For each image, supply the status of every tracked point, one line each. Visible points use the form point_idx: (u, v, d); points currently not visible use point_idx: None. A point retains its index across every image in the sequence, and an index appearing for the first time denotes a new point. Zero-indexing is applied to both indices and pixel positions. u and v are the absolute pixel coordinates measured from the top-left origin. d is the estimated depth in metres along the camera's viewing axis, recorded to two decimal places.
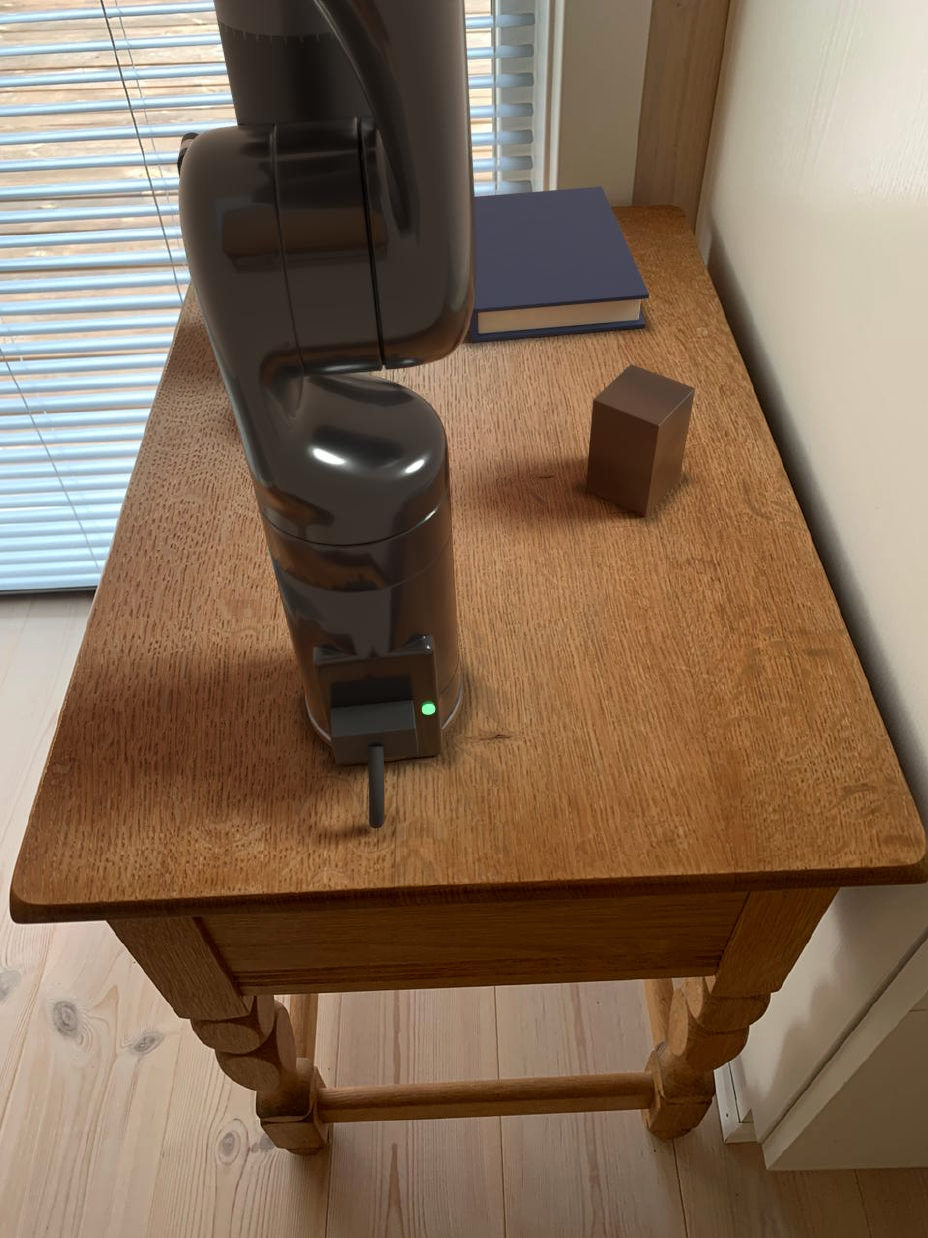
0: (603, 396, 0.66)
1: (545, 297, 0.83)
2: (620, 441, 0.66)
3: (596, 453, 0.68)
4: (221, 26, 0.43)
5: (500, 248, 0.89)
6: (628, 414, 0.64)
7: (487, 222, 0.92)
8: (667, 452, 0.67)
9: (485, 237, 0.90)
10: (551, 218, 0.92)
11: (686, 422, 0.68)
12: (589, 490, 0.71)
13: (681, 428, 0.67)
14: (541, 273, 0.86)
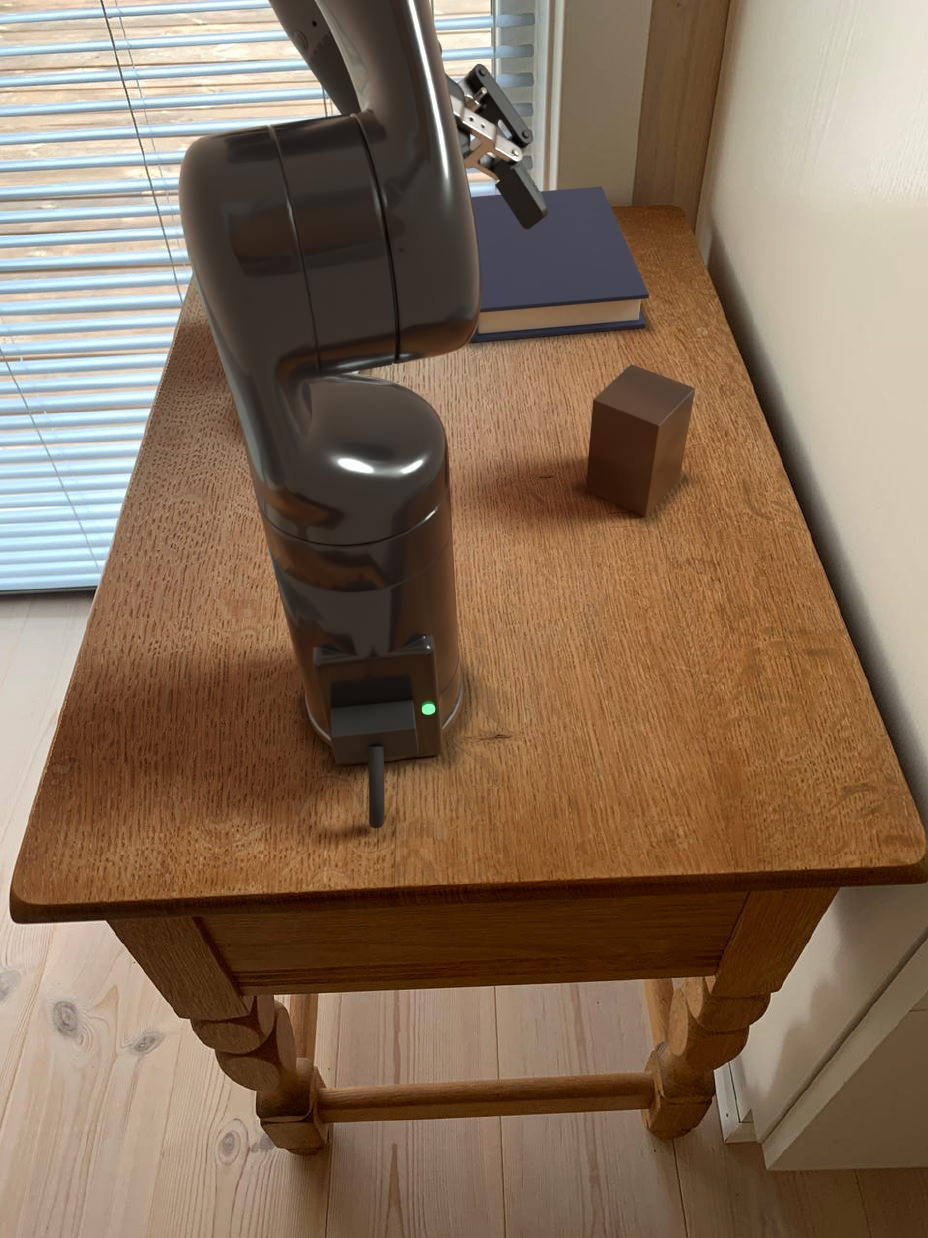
0: (603, 396, 0.66)
1: (545, 297, 0.83)
2: (620, 441, 0.66)
3: (596, 453, 0.68)
4: (330, 33, 0.59)
5: (500, 248, 0.89)
6: (628, 414, 0.64)
7: (487, 222, 0.92)
8: (667, 452, 0.67)
9: (485, 237, 0.90)
10: (551, 218, 0.92)
11: (686, 422, 0.68)
12: (589, 490, 0.71)
13: (681, 428, 0.67)
14: (541, 273, 0.86)
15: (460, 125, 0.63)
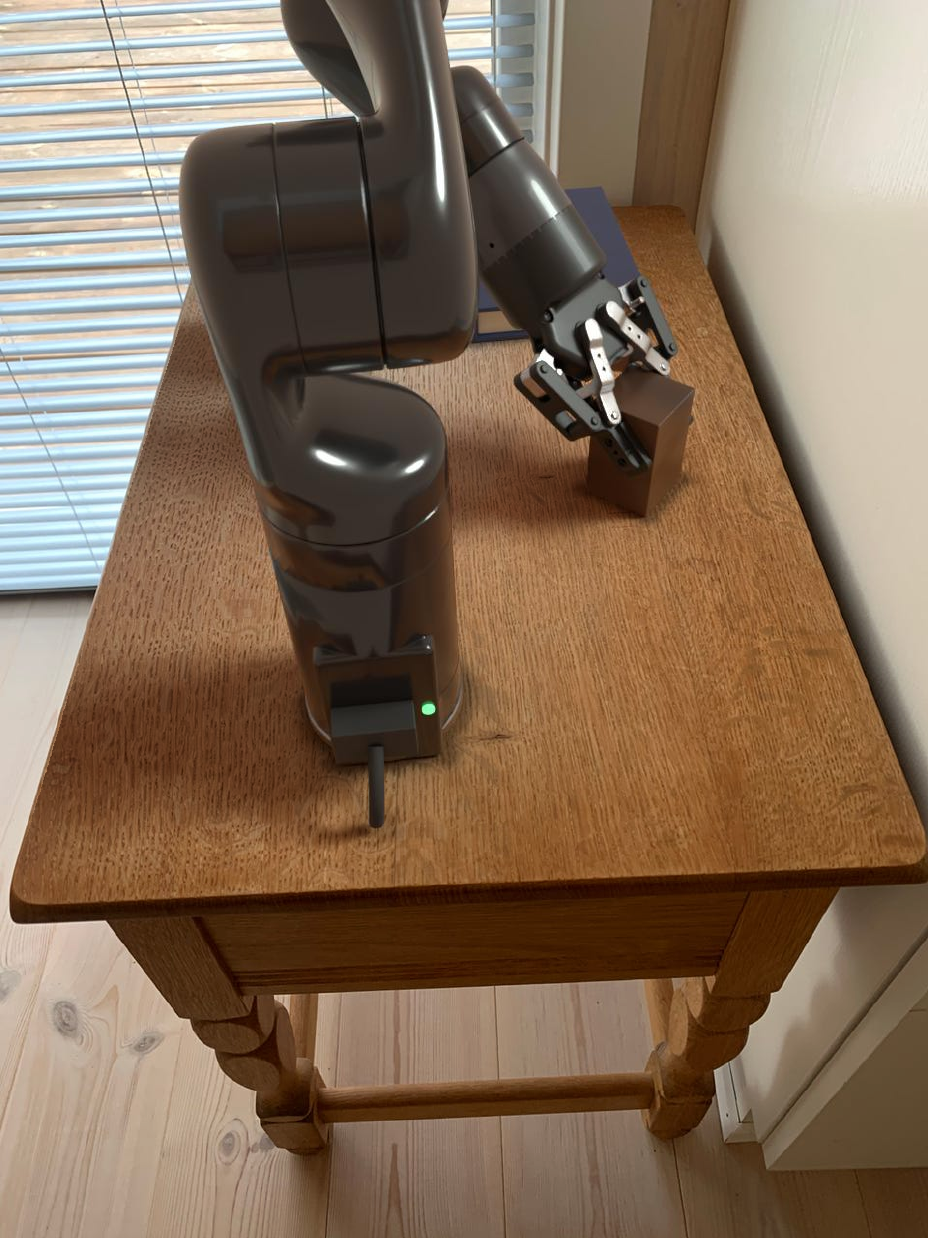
0: None
1: None
2: None
3: (596, 453, 0.68)
4: (507, 255, 0.61)
5: None
6: (628, 414, 0.64)
7: None
8: (667, 452, 0.67)
9: None
10: None
11: (686, 422, 0.68)
12: (589, 490, 0.71)
13: (681, 428, 0.67)
14: None
15: (618, 331, 0.65)
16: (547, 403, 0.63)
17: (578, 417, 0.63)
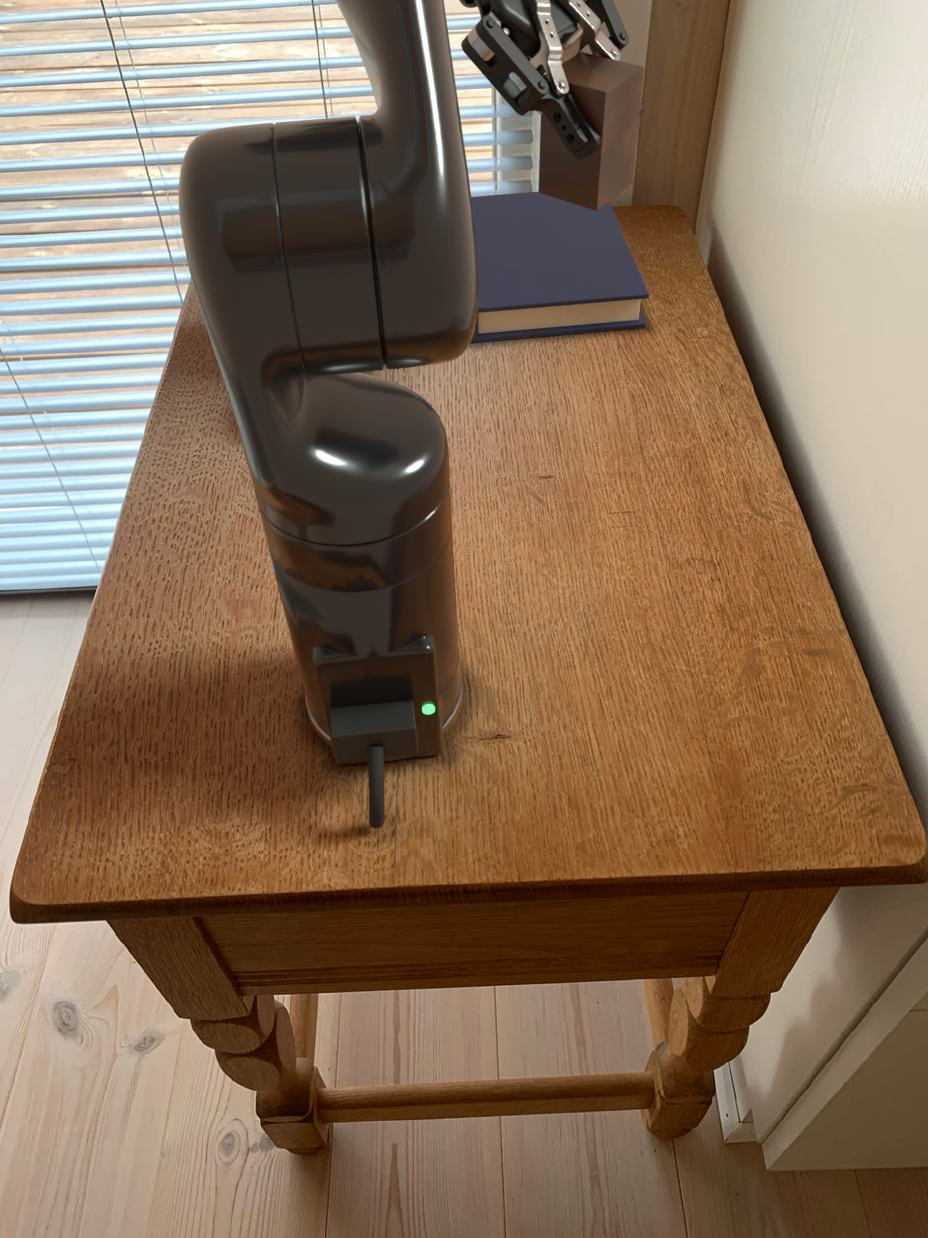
0: None
1: (545, 297, 0.83)
2: None
3: (547, 142, 0.69)
4: None
5: (500, 248, 0.89)
6: (576, 85, 0.65)
7: (487, 222, 0.92)
8: (616, 135, 0.67)
9: (485, 237, 0.90)
10: (551, 218, 0.92)
11: (636, 108, 0.68)
12: (542, 191, 0.72)
13: (631, 112, 0.68)
14: (541, 273, 0.86)
15: (567, 7, 0.66)
16: (494, 66, 0.63)
17: (525, 78, 0.63)
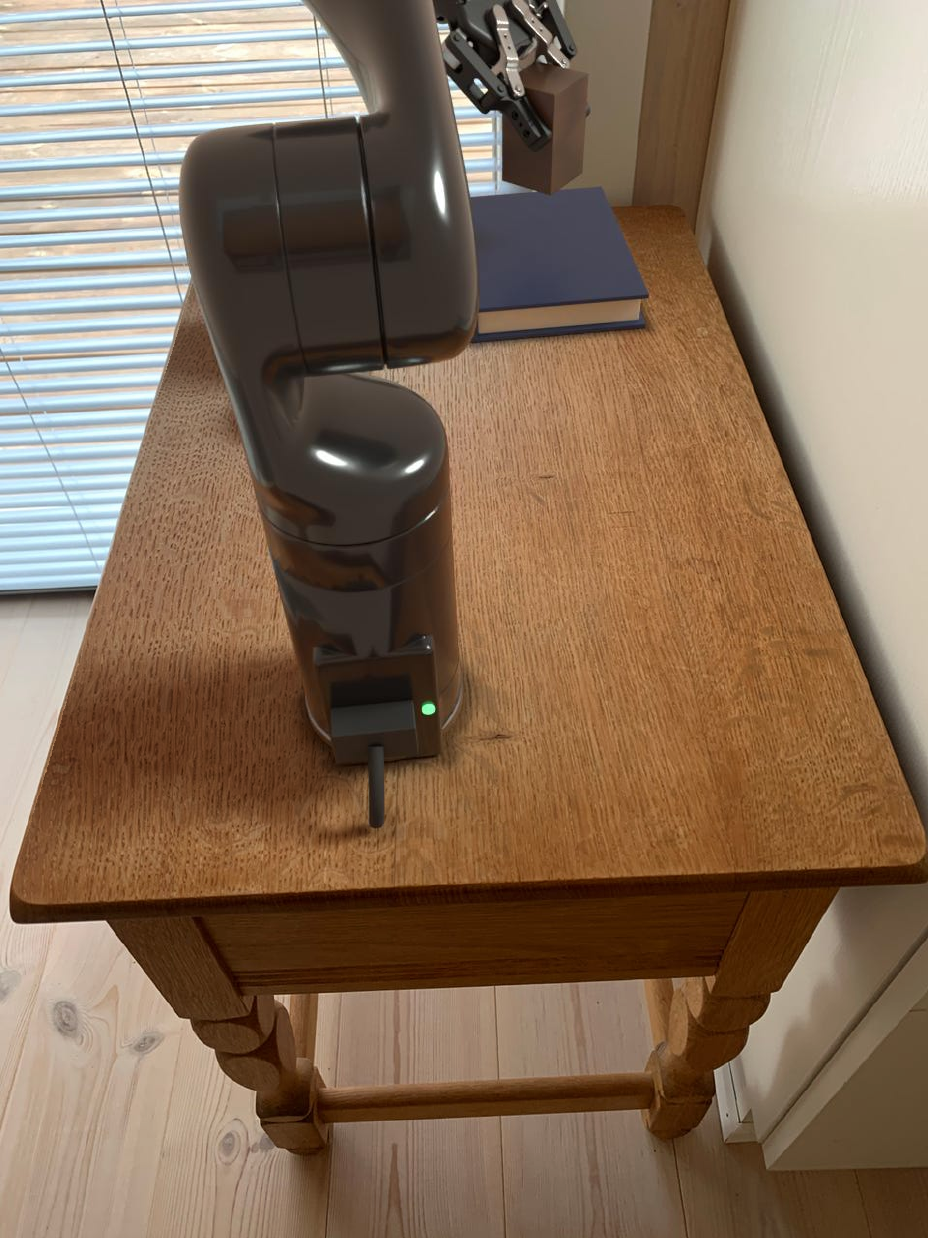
0: None
1: (545, 297, 0.83)
2: None
3: (508, 137, 0.81)
4: None
5: (500, 248, 0.89)
6: (530, 88, 0.77)
7: (487, 222, 0.92)
8: (566, 131, 0.80)
9: (485, 237, 0.90)
10: (551, 218, 0.92)
11: (583, 108, 0.80)
12: (505, 179, 0.84)
13: (578, 112, 0.80)
14: (541, 273, 0.86)
15: (523, 23, 0.78)
16: (461, 73, 0.76)
17: (486, 83, 0.75)
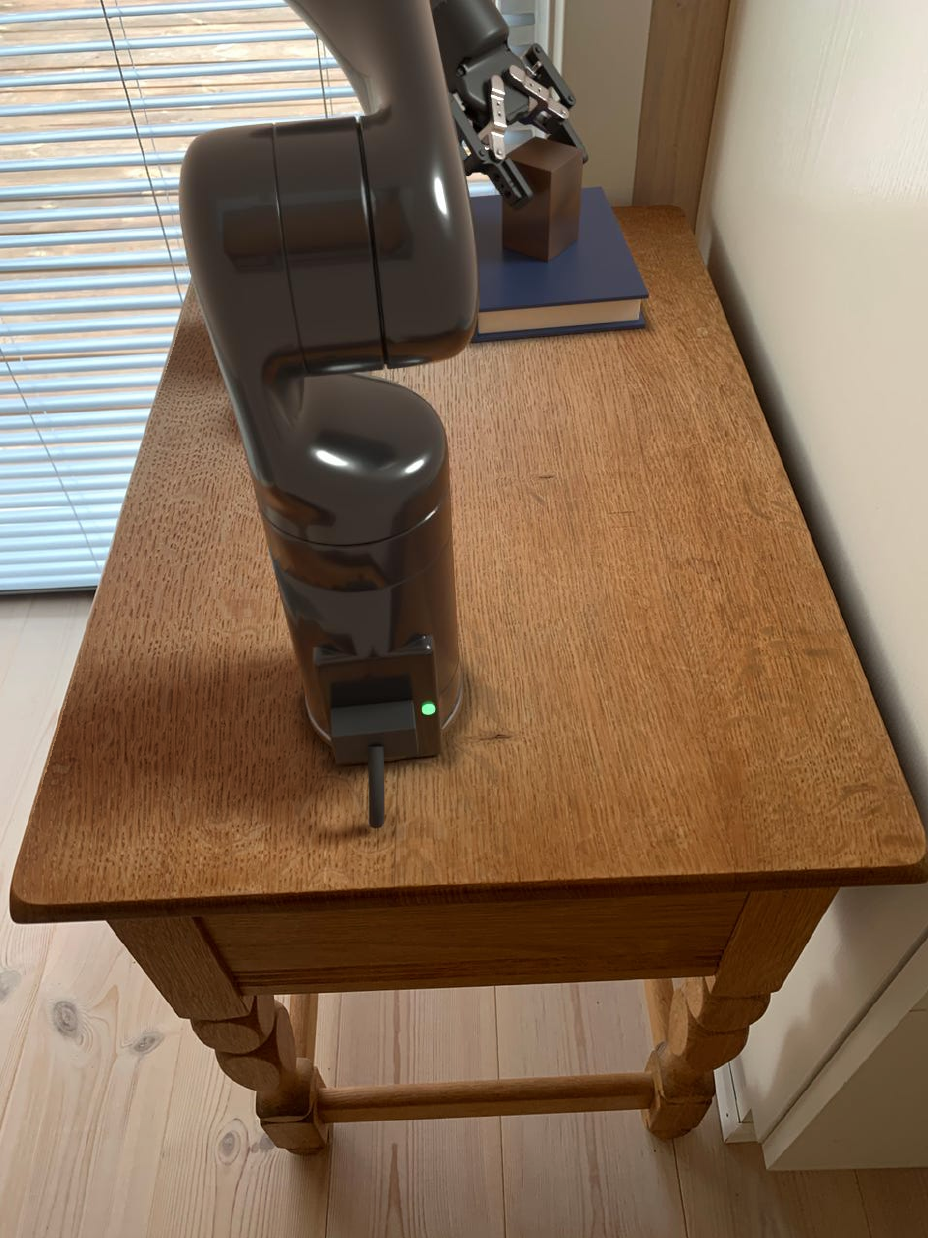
0: (510, 154, 0.83)
1: (545, 297, 0.83)
2: None
3: (507, 208, 0.86)
4: None
5: (500, 248, 0.89)
6: (529, 165, 0.82)
7: (487, 222, 0.92)
8: (562, 203, 0.84)
9: (485, 237, 0.90)
10: None
11: (578, 181, 0.85)
12: (504, 245, 0.89)
13: (574, 185, 0.85)
14: (541, 273, 0.86)
15: (522, 89, 0.82)
16: None
17: (469, 145, 0.79)
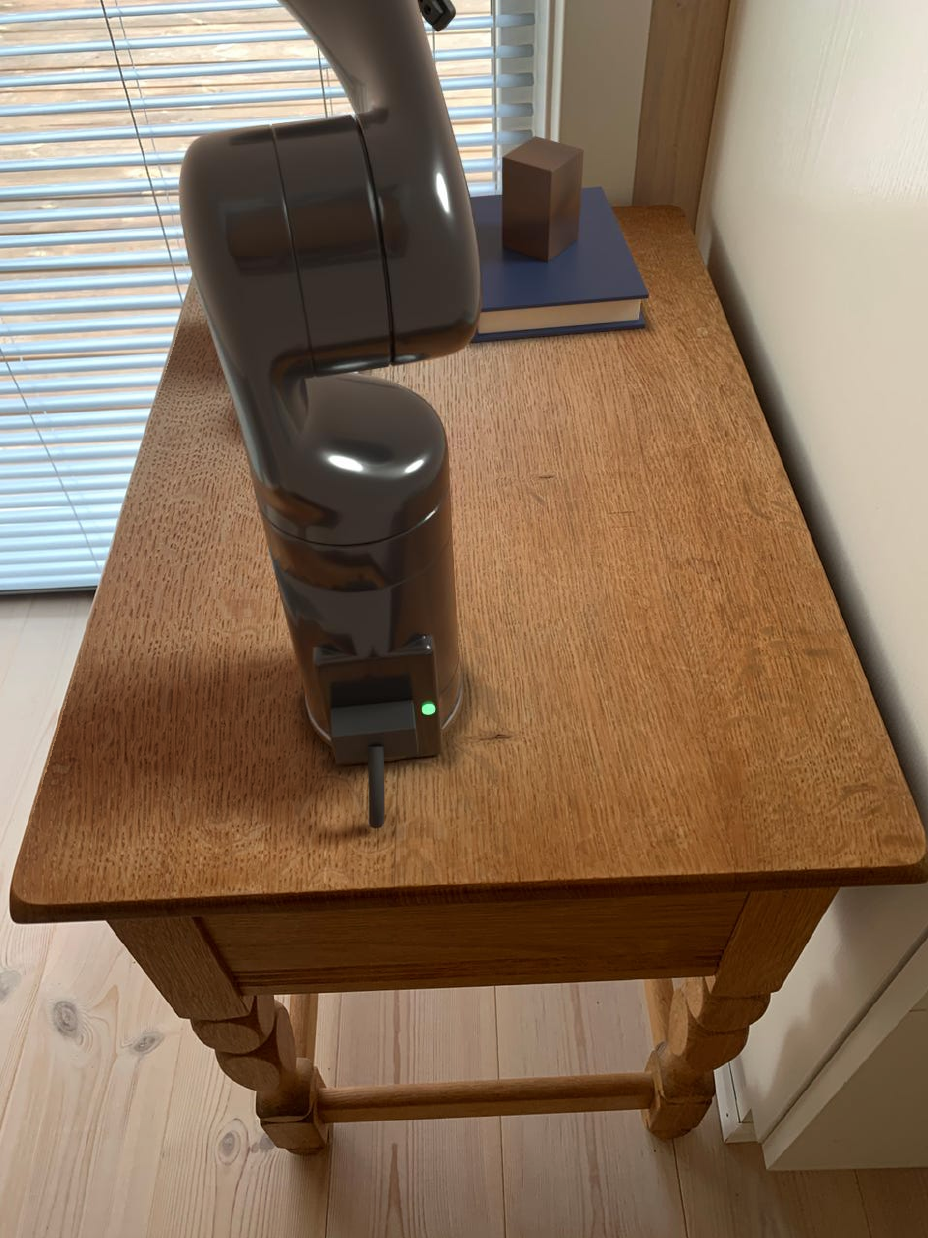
0: (510, 154, 0.83)
1: (545, 297, 0.83)
2: (524, 192, 0.84)
3: (507, 208, 0.86)
4: None
5: (500, 248, 0.89)
6: (529, 165, 0.82)
7: (487, 222, 0.92)
8: (562, 203, 0.84)
9: (485, 237, 0.90)
10: None
11: (578, 181, 0.85)
12: (504, 245, 0.89)
13: (574, 185, 0.85)
14: (541, 273, 0.86)
15: None
16: None
17: None
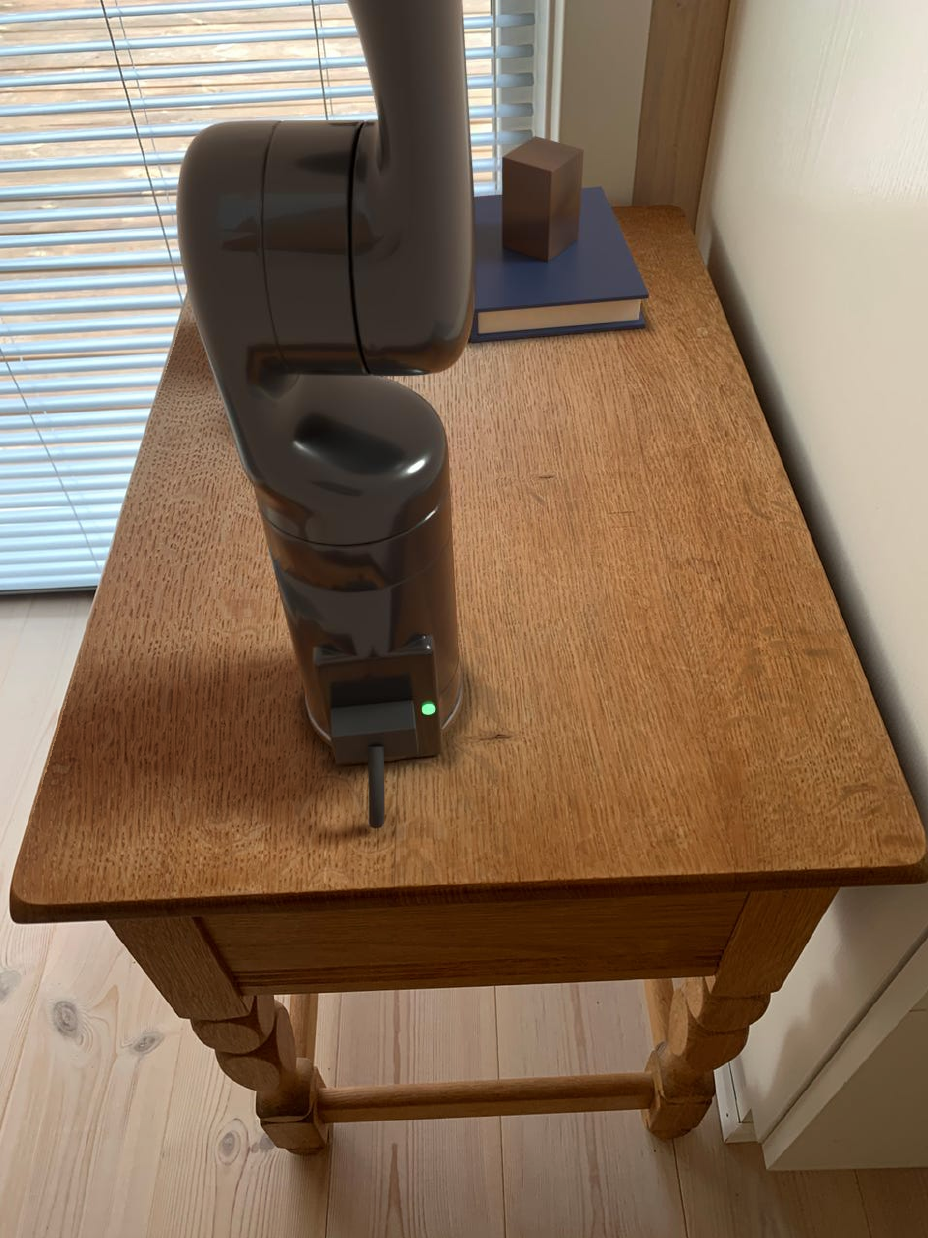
0: (510, 154, 0.83)
1: (545, 297, 0.83)
2: (524, 192, 0.84)
3: (507, 208, 0.86)
4: None
5: (500, 248, 0.89)
6: (529, 165, 0.82)
7: (487, 222, 0.92)
8: (562, 203, 0.84)
9: (485, 237, 0.90)
10: None
11: (578, 181, 0.85)
12: (504, 245, 0.89)
13: (574, 185, 0.85)
14: (541, 273, 0.86)
15: None
16: None
17: None
